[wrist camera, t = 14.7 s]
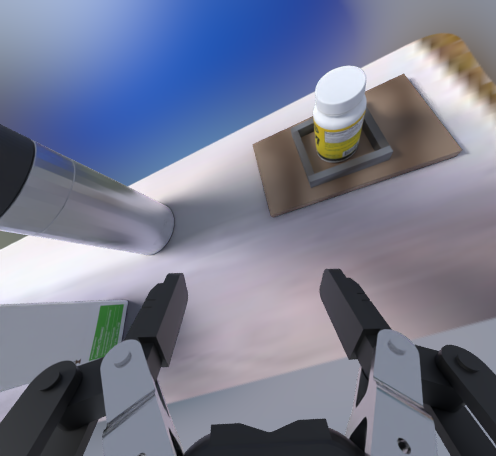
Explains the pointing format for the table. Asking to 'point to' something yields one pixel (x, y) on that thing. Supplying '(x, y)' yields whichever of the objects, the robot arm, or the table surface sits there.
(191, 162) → the table surface
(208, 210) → the table surface
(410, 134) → the seat board
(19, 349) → the skincare box
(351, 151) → the supplement bottle
